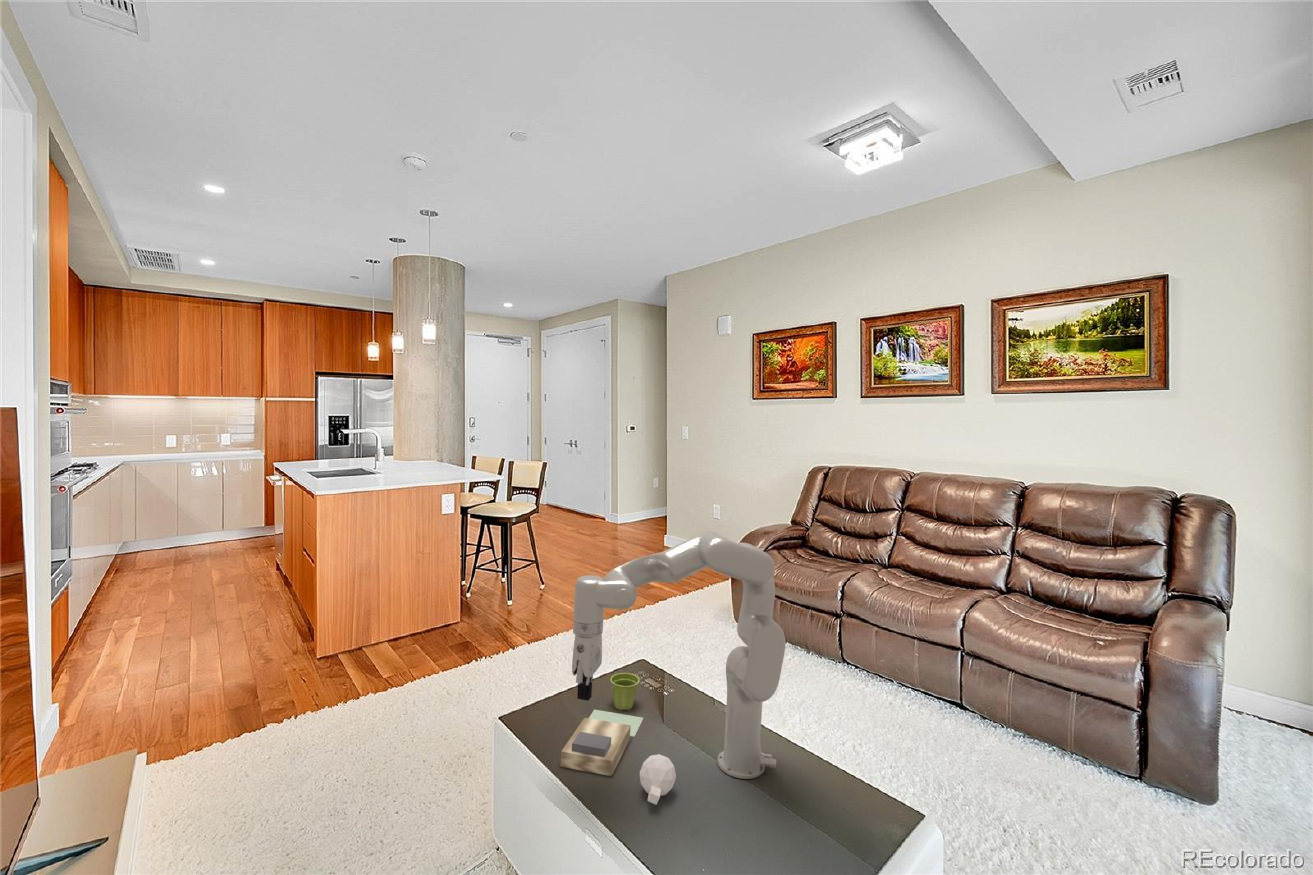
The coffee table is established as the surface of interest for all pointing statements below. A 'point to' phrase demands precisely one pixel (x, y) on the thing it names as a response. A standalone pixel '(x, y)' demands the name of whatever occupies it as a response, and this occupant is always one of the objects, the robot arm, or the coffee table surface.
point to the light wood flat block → (593, 762)
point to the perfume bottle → (657, 776)
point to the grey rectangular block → (591, 744)
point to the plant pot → (624, 690)
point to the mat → (618, 719)
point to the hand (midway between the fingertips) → (584, 698)
